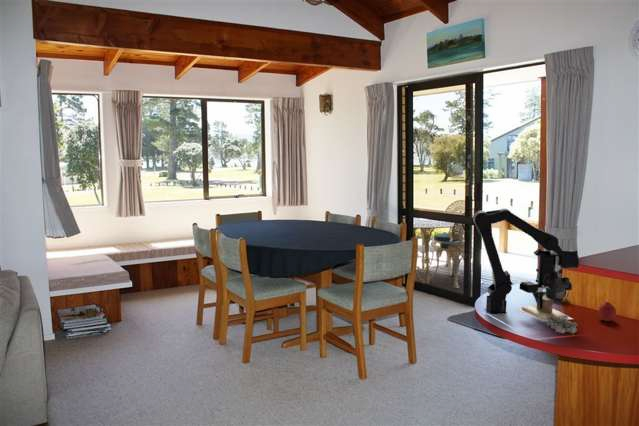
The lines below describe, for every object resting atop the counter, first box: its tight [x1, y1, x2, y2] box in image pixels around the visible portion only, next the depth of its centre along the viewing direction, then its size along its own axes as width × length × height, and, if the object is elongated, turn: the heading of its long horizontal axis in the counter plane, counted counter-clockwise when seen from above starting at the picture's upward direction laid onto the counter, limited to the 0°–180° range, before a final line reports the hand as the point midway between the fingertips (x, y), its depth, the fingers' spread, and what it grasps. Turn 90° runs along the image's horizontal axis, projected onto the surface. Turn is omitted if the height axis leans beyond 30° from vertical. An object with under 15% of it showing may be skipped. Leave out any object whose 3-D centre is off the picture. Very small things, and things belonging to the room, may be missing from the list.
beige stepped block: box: [521, 296, 569, 320], centre depth 206 cm, size 10×13×6 cm
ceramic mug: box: [543, 290, 570, 302], centre depth 227 cm, size 11×8×8 cm
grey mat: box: [515, 307, 574, 323], centre depth 206 cm, size 13×16×1 cm
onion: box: [597, 299, 617, 322], centre depth 198 cm, size 6×6×8 cm
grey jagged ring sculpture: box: [546, 316, 579, 336], centre depth 190 cm, size 11×8×4 cm
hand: (544, 308), depth 206 cm, fingers open, 3 cm apart
